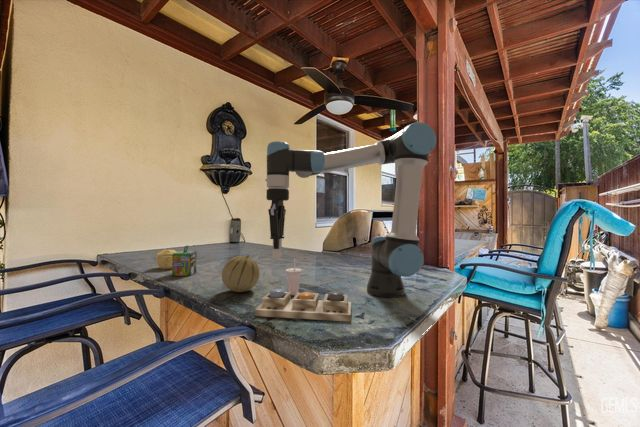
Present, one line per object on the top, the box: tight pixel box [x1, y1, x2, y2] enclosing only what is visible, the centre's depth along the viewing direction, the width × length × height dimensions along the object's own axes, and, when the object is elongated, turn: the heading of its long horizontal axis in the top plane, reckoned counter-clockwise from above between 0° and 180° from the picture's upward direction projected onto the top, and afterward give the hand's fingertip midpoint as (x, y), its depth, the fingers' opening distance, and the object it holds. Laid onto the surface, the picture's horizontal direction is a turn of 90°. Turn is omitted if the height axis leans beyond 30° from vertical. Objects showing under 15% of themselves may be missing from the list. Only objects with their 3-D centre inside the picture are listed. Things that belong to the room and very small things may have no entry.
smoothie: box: [285, 258, 302, 296], centre depth 108 cm, size 6×6×14 cm
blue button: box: [269, 288, 285, 298], centre depth 92 cm, size 5×5×2 cm
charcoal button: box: [327, 290, 344, 301], centre depth 89 cm, size 5×5×2 cm
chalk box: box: [171, 245, 198, 277], centre depth 139 cm, size 9×9×15 cm
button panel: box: [254, 291, 352, 322], centre depth 89 cm, size 30×12×4 cm, turn 83°
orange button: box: [298, 291, 313, 300], centre depth 90 cm, size 5×5×2 cm
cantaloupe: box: [221, 254, 260, 293], centre depth 111 cm, size 15×15×15 cm
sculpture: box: [155, 249, 178, 270], centre depth 154 cm, size 12×12×11 cm
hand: (277, 258), depth 92 cm, fingers closed
